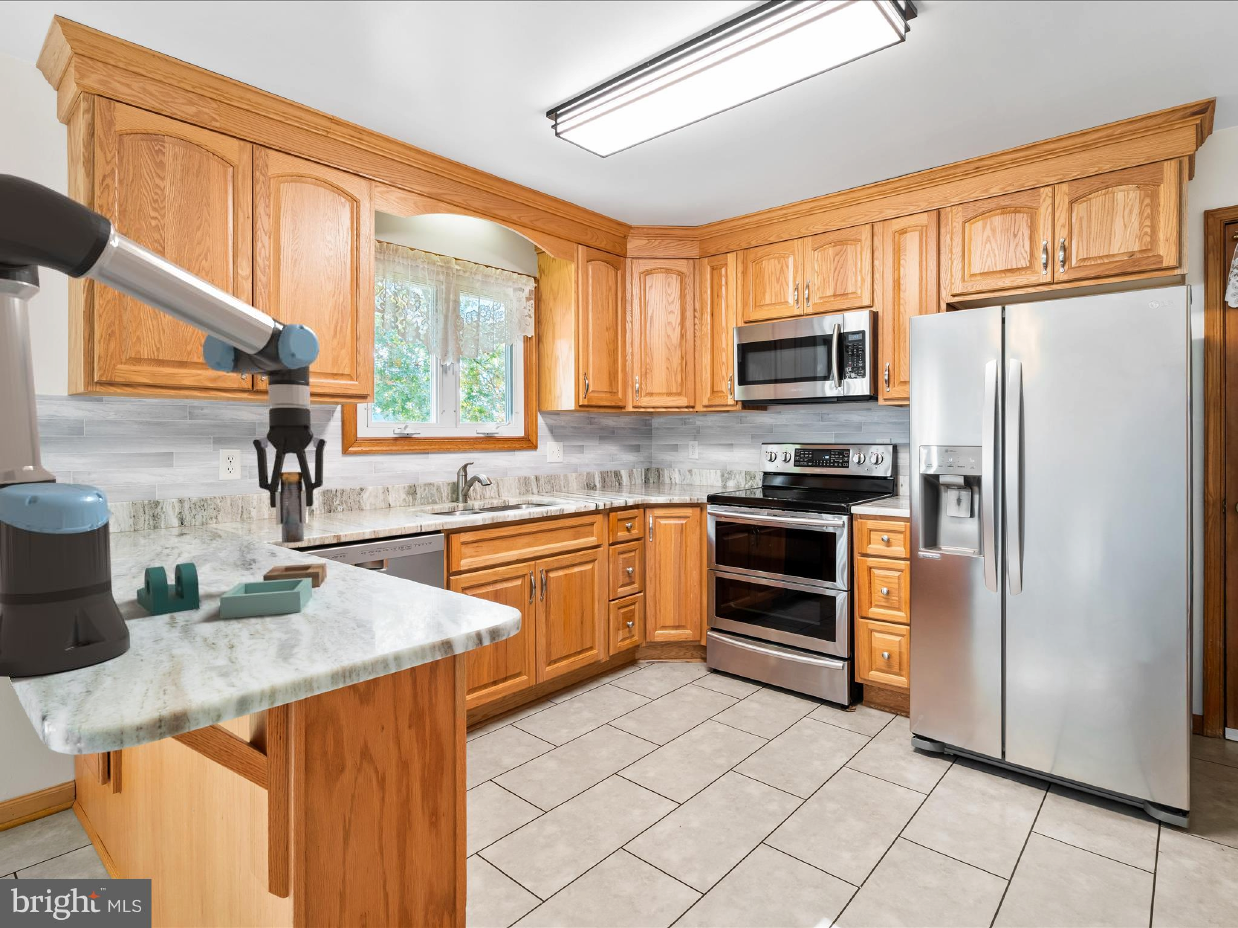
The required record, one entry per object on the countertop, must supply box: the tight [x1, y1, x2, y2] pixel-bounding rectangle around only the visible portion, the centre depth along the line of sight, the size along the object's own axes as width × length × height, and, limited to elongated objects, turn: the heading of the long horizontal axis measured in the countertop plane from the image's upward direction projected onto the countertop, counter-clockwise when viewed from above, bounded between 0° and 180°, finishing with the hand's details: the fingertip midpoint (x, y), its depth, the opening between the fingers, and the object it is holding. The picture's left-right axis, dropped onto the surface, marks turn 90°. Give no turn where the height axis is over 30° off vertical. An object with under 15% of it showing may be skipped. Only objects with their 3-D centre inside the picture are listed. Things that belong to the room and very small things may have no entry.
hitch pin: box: [280, 471, 305, 544], centre depth 137 cm, size 4×4×14 cm
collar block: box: [262, 562, 328, 588], centre depth 137 cm, size 10×10×3 cm
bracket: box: [136, 562, 201, 617], centre depth 122 cm, size 18×7×8 cm, turn 44°
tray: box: [219, 578, 313, 619], centre depth 118 cm, size 12×12×4 cm
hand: (292, 523), depth 137 cm, fingers closed on hitch pin, 4 cm apart
